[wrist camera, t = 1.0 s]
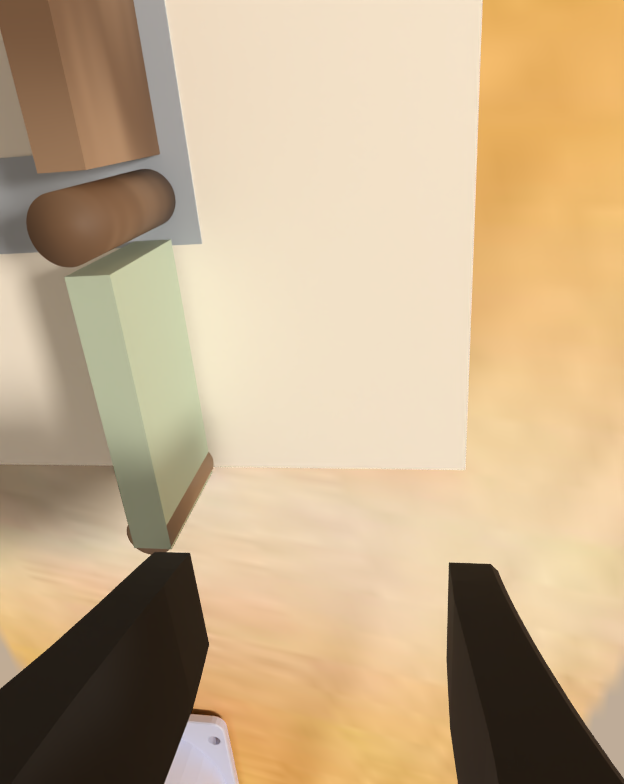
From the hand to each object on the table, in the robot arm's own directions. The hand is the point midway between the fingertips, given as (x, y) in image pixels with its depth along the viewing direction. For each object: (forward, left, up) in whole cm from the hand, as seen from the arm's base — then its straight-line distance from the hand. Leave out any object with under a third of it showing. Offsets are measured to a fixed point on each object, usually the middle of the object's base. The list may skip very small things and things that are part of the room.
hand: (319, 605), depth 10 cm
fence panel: (+1, +5, -8) cm, 9 cm away
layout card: (+6, +5, -8) cm, 11 cm away
